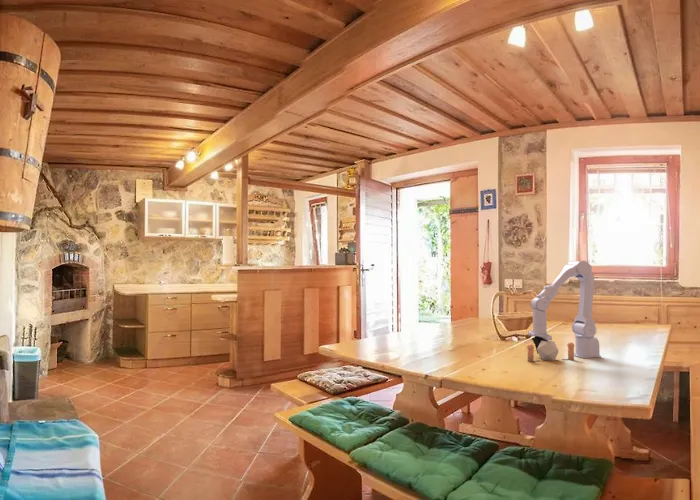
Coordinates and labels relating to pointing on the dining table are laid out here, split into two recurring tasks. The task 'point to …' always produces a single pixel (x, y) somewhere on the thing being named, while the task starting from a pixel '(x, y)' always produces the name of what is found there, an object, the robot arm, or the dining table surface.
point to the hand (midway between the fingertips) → (540, 353)
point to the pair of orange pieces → (570, 357)
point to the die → (547, 350)
